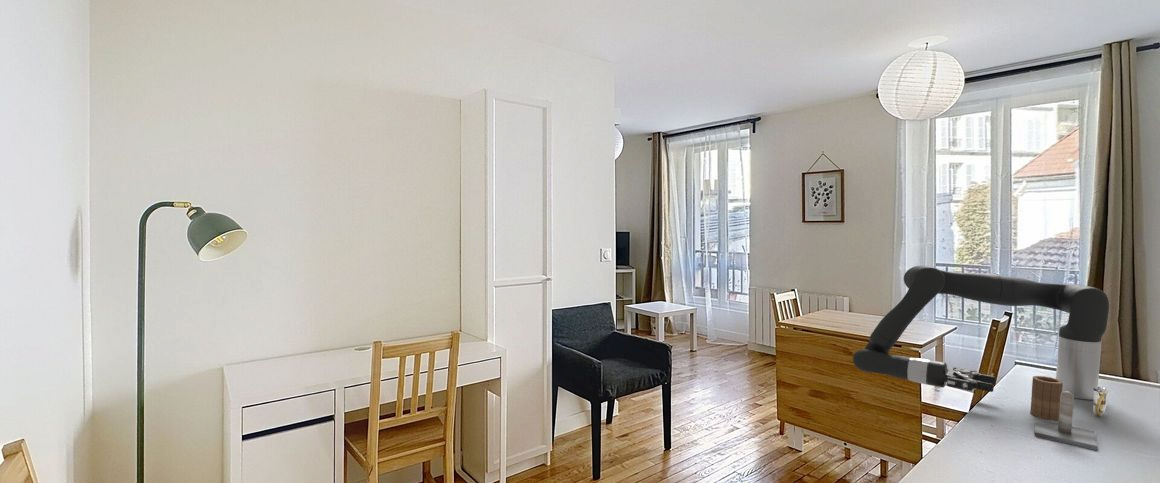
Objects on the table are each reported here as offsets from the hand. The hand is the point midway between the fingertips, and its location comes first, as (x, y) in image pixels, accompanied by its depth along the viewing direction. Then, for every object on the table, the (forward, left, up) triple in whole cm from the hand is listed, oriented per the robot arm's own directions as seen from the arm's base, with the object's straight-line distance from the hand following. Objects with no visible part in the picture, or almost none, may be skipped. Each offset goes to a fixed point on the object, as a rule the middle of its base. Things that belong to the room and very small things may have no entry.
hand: (994, 384), depth 147 cm
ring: (-10, +22, -6) cm, 25 cm away
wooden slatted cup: (0, +11, -6) cm, 13 cm away
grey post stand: (+13, +14, -6) cm, 21 cm away
